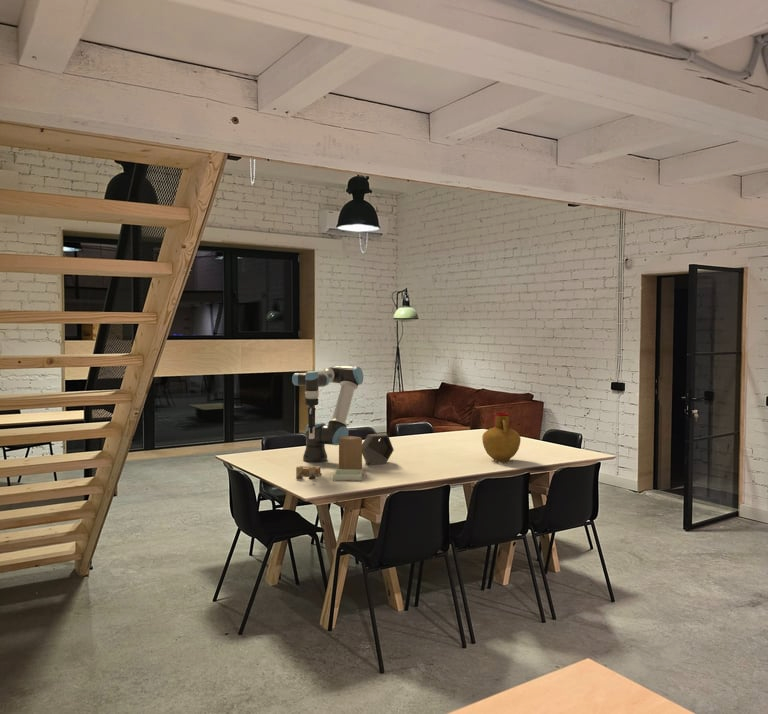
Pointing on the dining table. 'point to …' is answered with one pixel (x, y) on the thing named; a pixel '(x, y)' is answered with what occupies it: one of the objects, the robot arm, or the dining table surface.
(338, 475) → the tray
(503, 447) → the vase
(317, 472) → the wooden book-shaped slab
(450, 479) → the dining table surface
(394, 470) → the dining table surface
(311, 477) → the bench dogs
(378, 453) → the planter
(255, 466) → the dining table surface
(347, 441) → the block
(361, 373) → the robot arm
